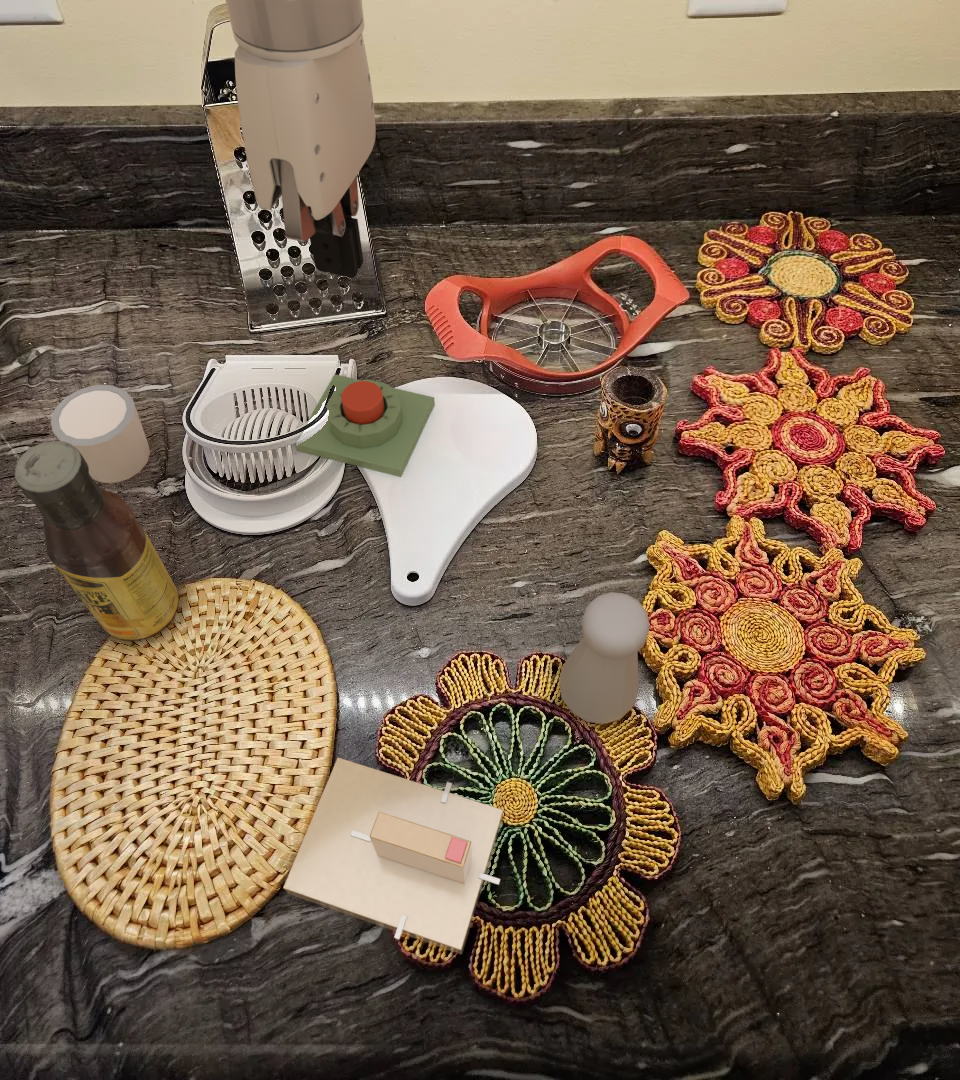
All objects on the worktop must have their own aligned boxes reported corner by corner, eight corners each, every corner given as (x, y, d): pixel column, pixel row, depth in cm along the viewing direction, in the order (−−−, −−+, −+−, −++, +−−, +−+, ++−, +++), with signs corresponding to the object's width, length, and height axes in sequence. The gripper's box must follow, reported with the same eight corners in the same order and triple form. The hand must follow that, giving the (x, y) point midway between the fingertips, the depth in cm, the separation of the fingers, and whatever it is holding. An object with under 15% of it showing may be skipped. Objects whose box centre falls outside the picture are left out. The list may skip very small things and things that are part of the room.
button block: (299, 459, 78) (290, 430, 75) (337, 389, 83) (331, 359, 79) (402, 485, 76) (398, 457, 73) (435, 413, 81) (433, 383, 78)
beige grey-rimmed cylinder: (85, 442, 79) (53, 389, 73) (161, 432, 80) (135, 378, 74) (79, 501, 75) (46, 450, 70) (159, 490, 76) (132, 438, 70)
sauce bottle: (91, 615, 69) (-33, 459, 53) (157, 568, 72) (59, 405, 55) (136, 667, 67) (21, 521, 50) (202, 617, 69) (114, 461, 52)
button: (337, 419, 76) (334, 405, 74) (353, 390, 78) (350, 377, 76) (375, 428, 75) (373, 415, 74) (390, 399, 77) (388, 386, 76)
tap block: (287, 906, 57) (278, 896, 54) (346, 763, 62) (340, 748, 60) (475, 973, 55) (475, 966, 52) (520, 818, 60) (521, 805, 57)
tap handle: (376, 855, 56) (368, 835, 52) (385, 831, 57) (378, 810, 53) (464, 884, 55) (463, 866, 51) (472, 859, 56) (471, 840, 52)
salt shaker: (553, 728, 64) (567, 650, 53) (559, 659, 67) (574, 572, 56) (632, 738, 63) (663, 662, 52) (635, 668, 66) (664, 582, 56)
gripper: (289, -64, 53) (332, 199, 68) (169, 57, 45) (249, 324, 60) (403, -48, 52) (421, 217, 67) (301, 80, 44) (348, 346, 59)
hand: (339, 267), depth 64 cm, fingers closed
